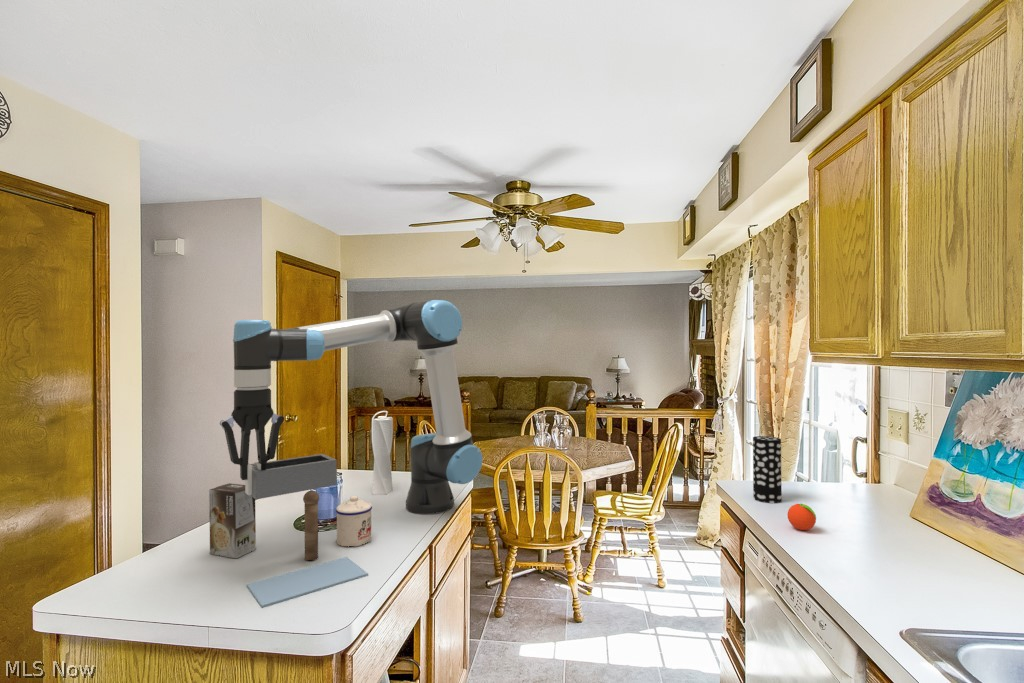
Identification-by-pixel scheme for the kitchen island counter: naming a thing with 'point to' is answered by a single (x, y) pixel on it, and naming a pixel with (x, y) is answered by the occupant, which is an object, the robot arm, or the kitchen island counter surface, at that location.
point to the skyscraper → (382, 453)
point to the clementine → (801, 516)
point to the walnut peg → (311, 524)
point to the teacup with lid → (353, 522)
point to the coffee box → (231, 521)
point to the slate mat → (304, 581)
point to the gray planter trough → (293, 475)
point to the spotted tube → (767, 469)
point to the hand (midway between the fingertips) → (253, 492)
